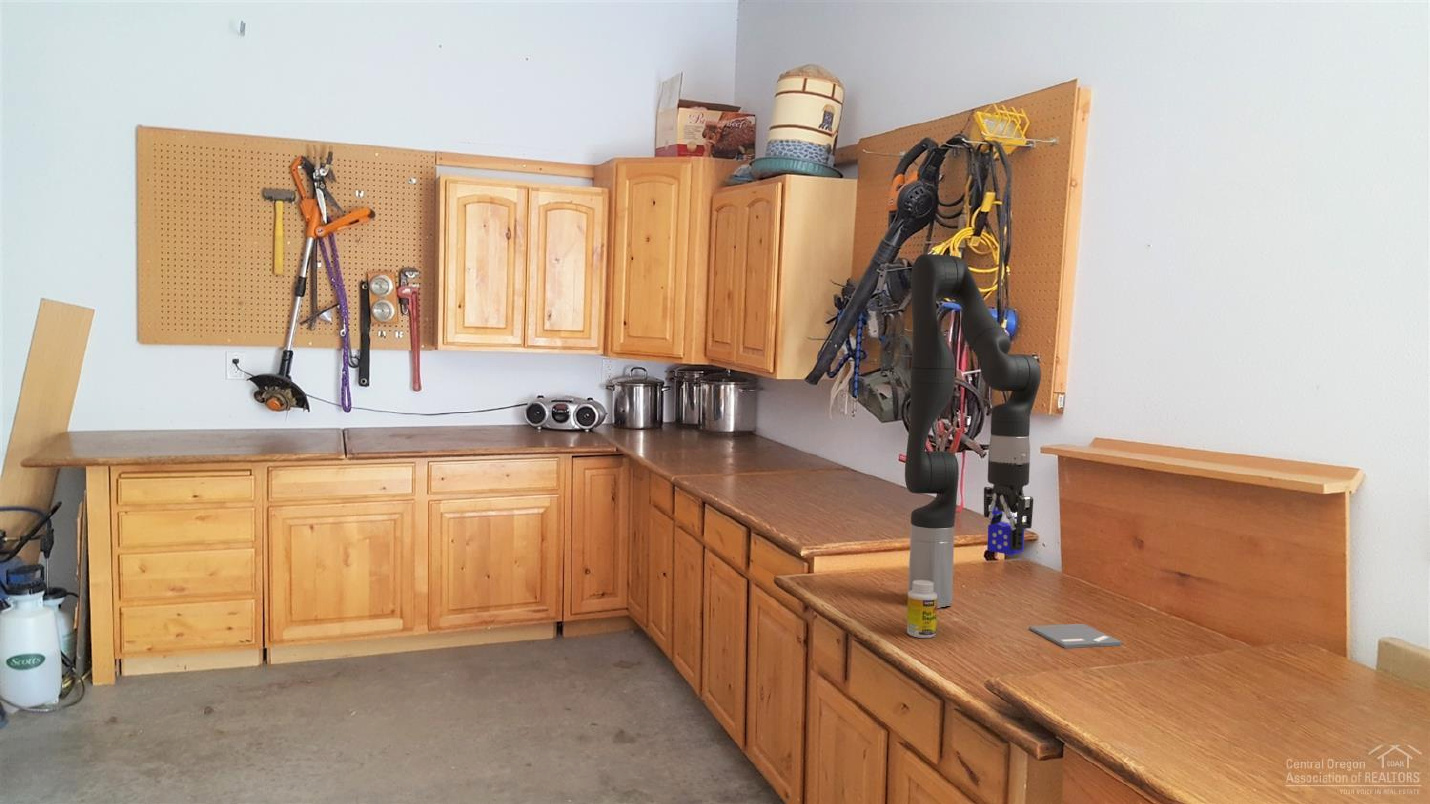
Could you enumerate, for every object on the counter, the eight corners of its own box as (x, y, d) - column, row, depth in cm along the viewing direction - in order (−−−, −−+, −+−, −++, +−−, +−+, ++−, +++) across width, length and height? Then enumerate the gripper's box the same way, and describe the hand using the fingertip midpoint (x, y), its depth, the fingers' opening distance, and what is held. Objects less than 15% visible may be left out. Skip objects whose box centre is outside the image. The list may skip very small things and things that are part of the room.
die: (999, 547, 176) (1000, 521, 176) (1023, 551, 173) (1024, 525, 172) (986, 550, 173) (987, 524, 172) (1011, 555, 169) (1012, 528, 169)
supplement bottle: (921, 641, 170) (923, 587, 170) (900, 633, 175) (901, 580, 174) (942, 636, 173) (944, 583, 173) (920, 629, 178) (922, 577, 177)
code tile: (1029, 629, 179) (1029, 625, 179) (1082, 626, 181) (1083, 623, 181) (1065, 648, 167) (1065, 644, 167) (1122, 645, 170) (1122, 641, 170)
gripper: (972, 455, 178) (969, 539, 179) (1011, 463, 164) (1008, 554, 165) (1006, 455, 180) (1003, 538, 180) (1048, 463, 166) (1045, 553, 166)
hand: (1005, 545), depth 173 cm, fingers closed on die, 6 cm apart
